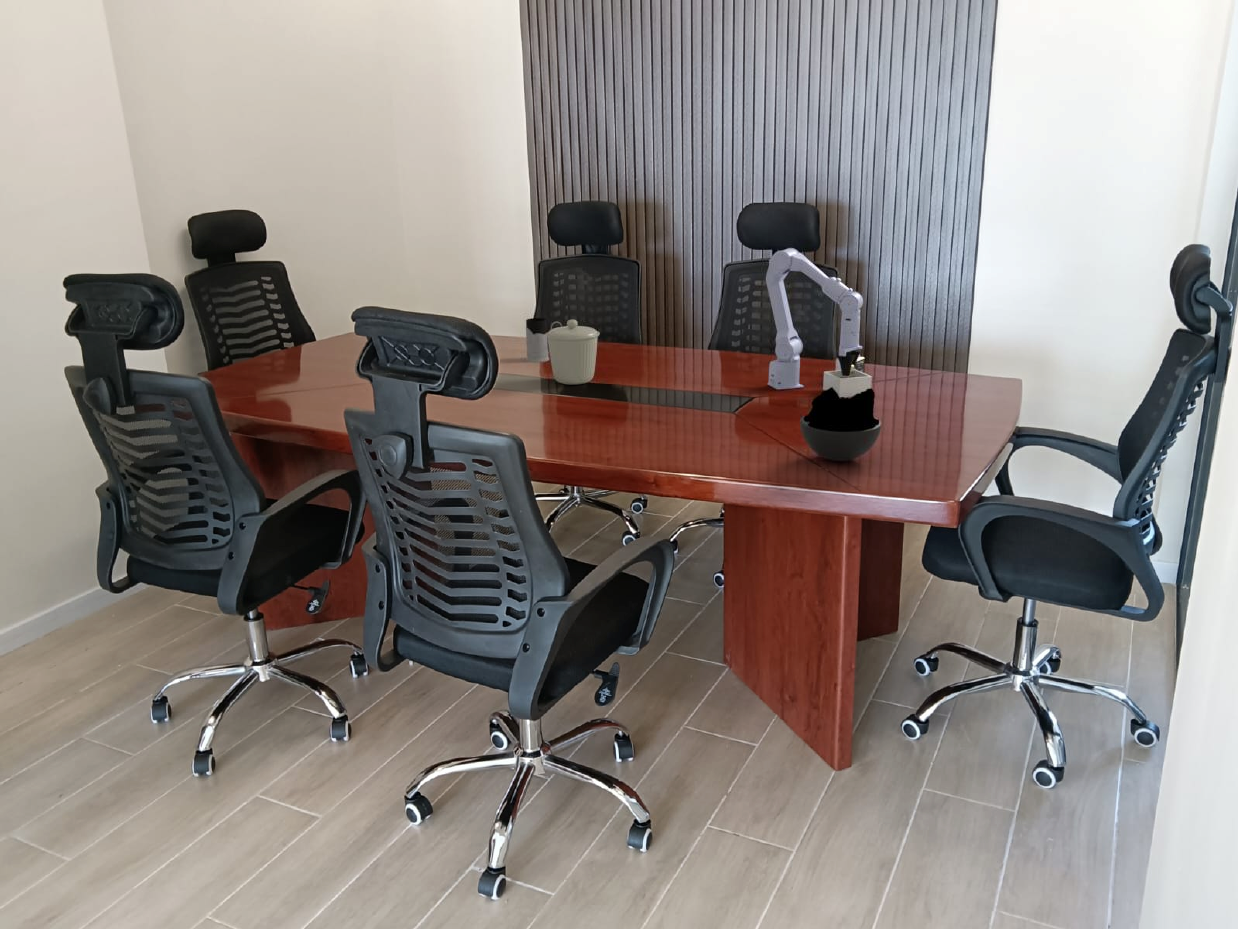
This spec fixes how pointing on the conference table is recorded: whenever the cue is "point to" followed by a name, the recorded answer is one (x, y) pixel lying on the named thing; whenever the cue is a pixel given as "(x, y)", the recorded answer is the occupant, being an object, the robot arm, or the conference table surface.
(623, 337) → the conference table surface
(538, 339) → the glass holder
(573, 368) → the canister
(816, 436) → the coal bowl
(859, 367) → the medicine bottle
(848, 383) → the white open box
